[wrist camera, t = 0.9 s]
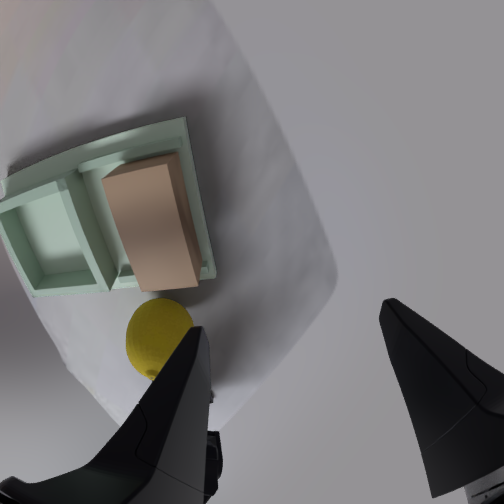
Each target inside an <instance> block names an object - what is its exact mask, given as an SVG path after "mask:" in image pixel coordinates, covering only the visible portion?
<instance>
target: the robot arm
mask: <svg viewBox="0 0 504 504" xmlns="http://www.w3.org/2000/svg"><path fill="white" fill-rule="evenodd" d="M379 322H380V326H381V329H382V333H383V336H384V340H385V343H386V347H387V351H388V355H389V358H390V361H391V364H392V366H393V369H394V372H395V374H396V377H397V380H398V382H399V385H400V388H401V391H402V394H403V397H404V400H405V402H406V406H407V408H408V411H409V415H410V418H411V421H412V424H413V427H414V430H415V434H416V437H417V440H418V444H419V447H420V451H421V455H422V459H423V463H424V466H425V470H426V474H427V478H428V482H429V487H430V491H431V495H432V498H436V497H438V496H441V495H444V494H446V493H449V492H451V491H454V490H456V489H458V488H461V487H463V486H464V489H465V492H466V496H467V500H468V504H504V374H503V373H501V372H500V371H498V370H497V369H495V368H493V367H492V366H490V365H489V364H487V363H486V362H484V361H483V360H481V359H480V358H478V357H477V356H476V355H474V354H473V353H471V352H470V351H469V350H467V349H465V348H464V347H463V346H462V345H460V344H459V343H458V342H457V341H455V340H454V339H452V338H451V337H450V336H448V335H447V334H446V333H444V332H443V331H441V330H440V329H439V328H437V327H436V326H434V325H433V324H432V323H430V322H429V321H427V320H426V319H424V318H423V317H421V316H420V315H419V314H417V313H416V312H415V311H413V310H412V309H410V308H409V307H407V306H406V305H404V304H403V303H401V302H400V301H399V300H397V299H395V298H390V299H386V300H384V301H383V303H382V307H381V311H380V315H379ZM210 389H211V379H210V353H209V342H208V339H207V336H206V333H205V331H204V328H203V327H202V326H195V327H190V328H189V330H188V331H187V333H186V334H185V335H184V337H183V338H182V340H181V341H180V343H179V344H178V346H177V347H176V348H175V350H174V351H173V353H172V354H171V356H170V357H169V359H168V360H167V361H166V363H165V364H164V366H163V367H162V369H161V370H160V372H159V373H158V375H157V376H156V377H155V379H154V380H152V383H151V385H150V386H149V388H148V389H147V391H146V392H145V394H144V395H143V396H142V398H141V399H140V401H139V404H137V405H136V407H135V408H134V409H133V411H132V412H131V414H130V415H129V417H128V418H127V419H126V421H125V422H124V423H123V425H122V426H121V427H120V428H119V430H118V431H117V432H116V433H115V434H114V435H113V437H112V438H111V439H110V440H109V441H108V442H107V443H106V445H105V446H104V447H103V448H102V449H101V450H100V451H99V453H98V454H97V455H96V456H95V457H94V458H93V459H92V460H91V461H90V462H89V463H88V464H86V465H84V466H83V467H81V468H79V469H76V470H73V471H71V472H68V473H65V474H62V475H59V476H57V477H54V478H51V479H48V480H45V481H41V482H37V483H26V482H24V481H22V480H20V479H18V478H16V477H14V476H11V477H9V478H7V479H5V480H3V481H2V482H1V483H0V504H206V503H207V501H208V500H209V499H210V497H211V496H213V495H214V494H215V493H216V491H217V489H218V479H219V478H220V476H221V473H222V467H223V458H222V451H221V442H220V436H219V431H207V429H208V416H209V403H213V398H212V396H211V394H210Z"/></svg>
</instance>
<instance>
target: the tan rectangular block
mask: <svg viewBox="0 0 504 504" xmlns="http://www.w3.org/2000/svg"><path fill="white" fill-rule="evenodd" d="M101 181H102V184H103V188H104V191H105V194H106V198H107V201H108V204H109V207H110V210H111V213H112V216H113V219H114V222H115V225H116V228H117V230H118V233H119V236H120V239H121V241H122V244H123V247H124V249H125V252H126V255H127V257H128V260H129V262H130V265H131V267H132V270H133V272H134V275H135V277H136V279H137V282H138V284H139V287H140V289H141V291H142V292H147V291H158V290H168V289H178V288H187V287H197V286H198V285H199V279H200V272H201V266H202V256H201V252H200V248H199V244H198V240H197V235H196V231H195V227H194V223H193V219H192V214H191V210H190V206H189V201H188V197H187V192H186V187H185V183H184V178H183V173H182V169H181V164H180V159H179V154H178V151H177V152H172V153H167V154H163V155H158V156H153V157H149V158H145V159H140V160H136V161H132V162H128V163H124V164H120V165H119V166H118V167H116V168H115V169H114V170H112V171H111V172H110V173H108V174H107V175H106V176H105V177H103V178H102V179H101Z"/></svg>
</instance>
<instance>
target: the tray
mask: <svg viewBox="0 0 504 504" xmlns="http://www.w3.org/2000/svg"><path fill="white" fill-rule="evenodd" d="M177 151H178V154H179V159H180V164H181V169H182V173H183V178H184V183H185V187H186V192H187V197H188V201H189V206H190V210H191V214H192V219H193V223H194V227H195V231H196V235H197V240H198V244H199V248H200V252H201V256H202V266H201V272H200V279H199V280H205V279H213V278H216V272H217V270H216V266H215V261H214V257H213V252H212V248H211V243H210V239H209V234H208V230H207V225H206V220H205V216H204V211H203V206H202V201H201V196H200V191H199V186H198V181H197V176H196V171H195V166H194V160H193V155H192V150H191V144H190V139H189V133H188V128H187V122H186V116H185V117H180V118H176V119H171V120H167V121H162V122H158V123H154V124H150V125H146V126H142V127H138V128H134V129H131V130H127V131H124V132H120V133H117V134H113V135H110V136H107V137H104V138H101V139H98V140H95V141H92V142H89V143H86V144H83V145H80V146H77V147H75V148H72V149H69V150H67V151H64V152H62V153H59V154H57V155H54V156H52V157H49V158H47V159H45V160H42V161H40V162H38V163H35V164H33V165H31V166H29V167H27V168H24V169H22V170H20V171H18V172H16V173H14V174H12V175H10V176H8V177H6V178H5V179H3V180H1V181H0V182H1V185H2V188H3V191H4V194H5V197H4V198H2V199H1V200H0V234H1V236H2V238H3V240H4V243H5V245H6V247H7V249H8V251H9V253H10V255H11V257H12V259H13V261H14V263H15V265H16V267H17V269H18V271H19V273H20V275H21V277H22V279H23V280H24V282H25V284H26V286H27V287H28V289H29V291H30V293H31V294H32V296H33V297H46V296H60V295H73V294H86V293H98V292H109V291H110V290H111V289H118V288H128V287H139V284H138V282H137V279H136V277H135V275H134V272H133V270H132V267H131V265H130V262H129V260H128V257H127V255H126V252H125V249H124V247H123V244H122V241H121V239H120V236H119V233H118V230H117V228H116V225H115V222H114V219H113V216H112V213H111V210H110V207H109V204H108V201H107V198H106V194H105V191H104V188H103V184H102V181H101V179H102V178H103V177H105V176H106V175H107V174H108V173H110V172H111V171H112V170H114V169H115V168H116V167H118V166H119V165H120V164H124V163H128V162H132V161H136V160H140V159H145V158H149V157H153V156H158V155H163V154H167V153H172V152H177Z"/></svg>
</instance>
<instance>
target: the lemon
mask: <svg viewBox="0 0 504 504" xmlns="http://www.w3.org/2000/svg"><path fill="white" fill-rule="evenodd" d="M190 327H194V324H193V321H192V318H191V316H190V315H189V313H188V311H187V310H186V309H185V308H184V307H183V306H182V305H180V304H179V303H177V302H175V301H173V300H171V299H166V298H156V299H151V300H149V301H147V302H145V303H143V304H142V305H141V306H140V307H139V308H138V309H137V310H136V311H135V312H134V314H133V316H132V318H131V320H130V322H129V324H128V327H127V332H126V351H127V355H128V358H129V360H130V362H131V364H132V365H133V366H134V368H135V369H136V370H137V371H138V372H140V373H141V374H142V375H144V376H146V377H148V378H149V379H150V380H154V379H155V377H156V376H157V375H158V373H159V372H160V370H161V369H162V367H163V366H164V364H165V363H166V361H167V360H168V359H169V357H170V356H171V354H172V353H173V351H174V350H175V348H176V347H177V346H178V344H179V343H180V341H181V340H182V338H183V337H184V335H185V334H186V333H187V331H188V330H189V328H190Z"/></svg>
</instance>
